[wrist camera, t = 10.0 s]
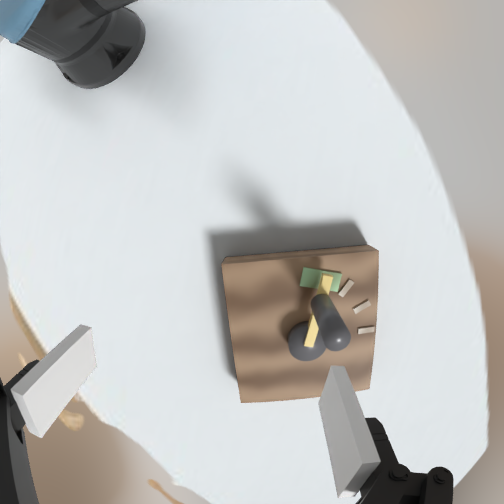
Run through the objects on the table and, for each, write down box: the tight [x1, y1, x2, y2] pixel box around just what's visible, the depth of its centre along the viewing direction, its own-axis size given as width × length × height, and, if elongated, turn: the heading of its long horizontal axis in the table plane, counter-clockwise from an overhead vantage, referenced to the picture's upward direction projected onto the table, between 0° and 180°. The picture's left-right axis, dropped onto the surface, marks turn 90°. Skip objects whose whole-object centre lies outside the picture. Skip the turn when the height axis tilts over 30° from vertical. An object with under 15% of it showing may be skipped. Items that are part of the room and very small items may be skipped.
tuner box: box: [221, 245, 379, 403], centre depth 40 cm, size 22×20×4 cm
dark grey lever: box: [288, 273, 351, 361], centre depth 32 cm, size 5×12×11 cm, turn 169°
